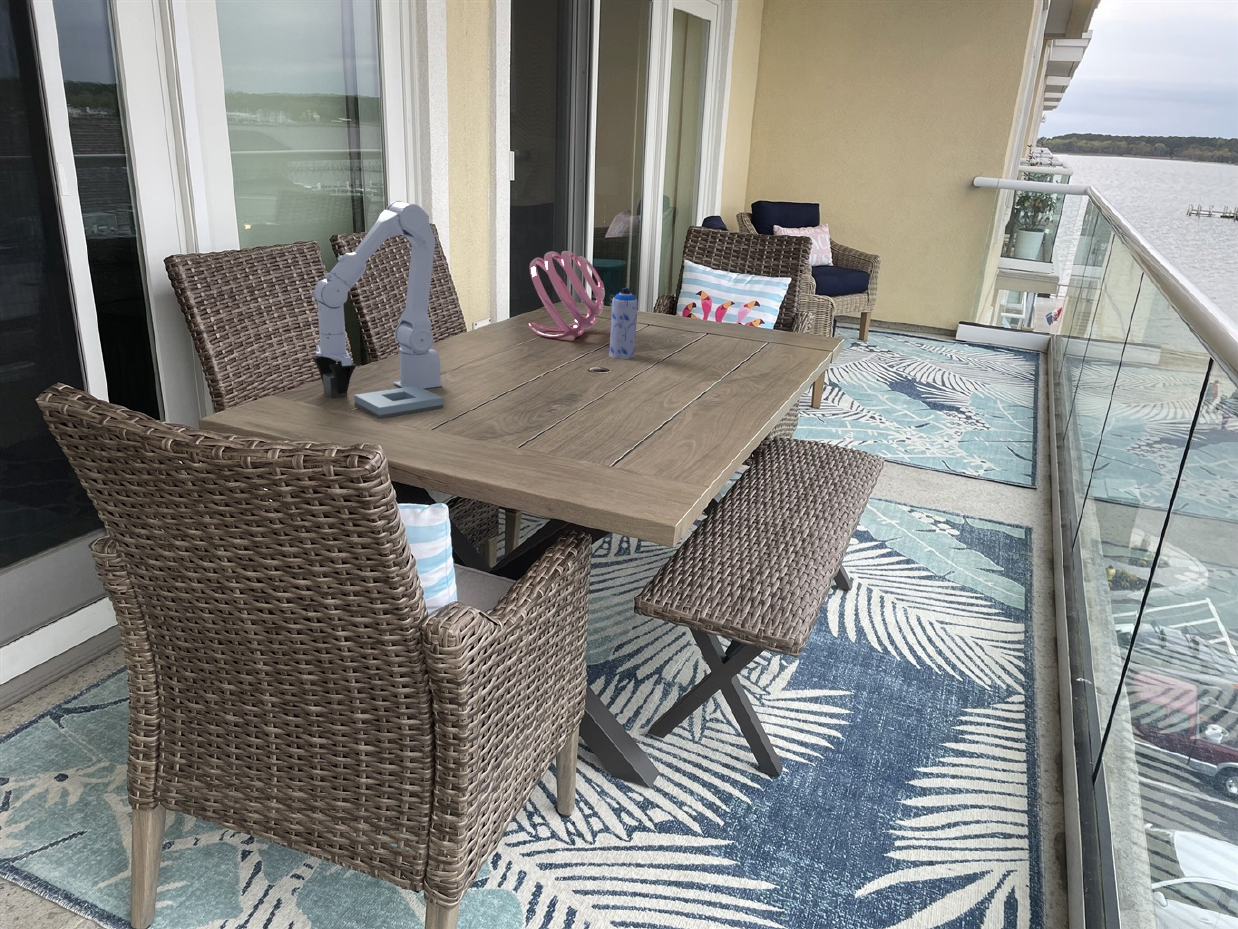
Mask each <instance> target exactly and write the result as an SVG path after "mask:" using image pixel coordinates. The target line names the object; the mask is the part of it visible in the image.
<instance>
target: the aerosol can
mask: <svg viewBox="0 0 1238 929" xmlns="http://www.w3.org/2000/svg"><path fill="white" fill-rule="evenodd" d="M630 291H631V290H630V288H627V287H622V288H621V292H619V293H616V295H615V296H613V298H612V302H611V319H610V334H609V336H610V338H609V352H608V356H609V357H611V358H614V359H619V360H620V359H622V360H629V359H635V357H636V354H635V351H636V349H635V348H636V335H637V334H636V333H637V321H638V320H637V318H638V317H637V316H638V302H639V301H638V299H637V298H636V295H634V294H633V293H631V292H630Z"/></svg>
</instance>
